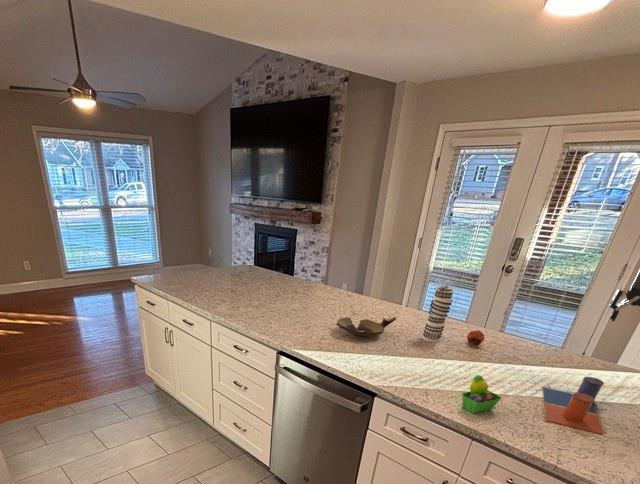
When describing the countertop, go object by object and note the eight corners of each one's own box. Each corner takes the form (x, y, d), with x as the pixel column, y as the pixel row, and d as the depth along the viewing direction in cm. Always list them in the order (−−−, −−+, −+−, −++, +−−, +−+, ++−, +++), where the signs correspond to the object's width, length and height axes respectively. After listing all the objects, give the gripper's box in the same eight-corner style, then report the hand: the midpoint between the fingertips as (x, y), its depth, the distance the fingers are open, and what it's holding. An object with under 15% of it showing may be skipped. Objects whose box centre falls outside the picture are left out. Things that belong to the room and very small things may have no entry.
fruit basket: (473, 416, 141) (485, 386, 134) (454, 404, 147) (463, 375, 141) (497, 410, 145) (509, 381, 138) (477, 399, 151) (487, 371, 145)
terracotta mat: (596, 416, 144) (597, 415, 144) (602, 434, 134) (603, 433, 134) (544, 403, 150) (544, 403, 150) (546, 421, 140) (546, 420, 140)
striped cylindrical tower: (444, 341, 201) (460, 289, 187) (427, 342, 199) (442, 289, 186) (435, 335, 208) (449, 284, 195) (418, 335, 207) (431, 284, 193)
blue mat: (590, 398, 155) (591, 397, 155) (596, 414, 145) (596, 413, 145) (542, 388, 161) (542, 387, 161) (544, 402, 151) (544, 401, 151)
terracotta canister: (582, 416, 143) (593, 395, 139) (584, 424, 138) (595, 403, 134) (561, 411, 145) (571, 391, 141) (562, 419, 141) (573, 398, 136)
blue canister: (592, 398, 154) (602, 379, 150) (594, 405, 150) (605, 385, 145) (572, 394, 157) (582, 375, 152) (574, 401, 152) (584, 381, 148)
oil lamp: (333, 324, 216) (335, 310, 212) (391, 328, 214) (394, 314, 210) (335, 339, 197) (338, 324, 193) (399, 344, 195) (403, 328, 191)
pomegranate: (479, 352, 197) (488, 336, 198) (477, 342, 191) (487, 326, 193) (463, 349, 201) (473, 333, 203) (461, 339, 196) (471, 323, 198)
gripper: (628, 273, 135) (604, 322, 144) (683, 279, 130) (655, 329, 139) (623, 269, 141) (601, 316, 150) (676, 275, 136) (649, 323, 144)
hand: (627, 322), depth 144 cm, fingers open, 8 cm apart
